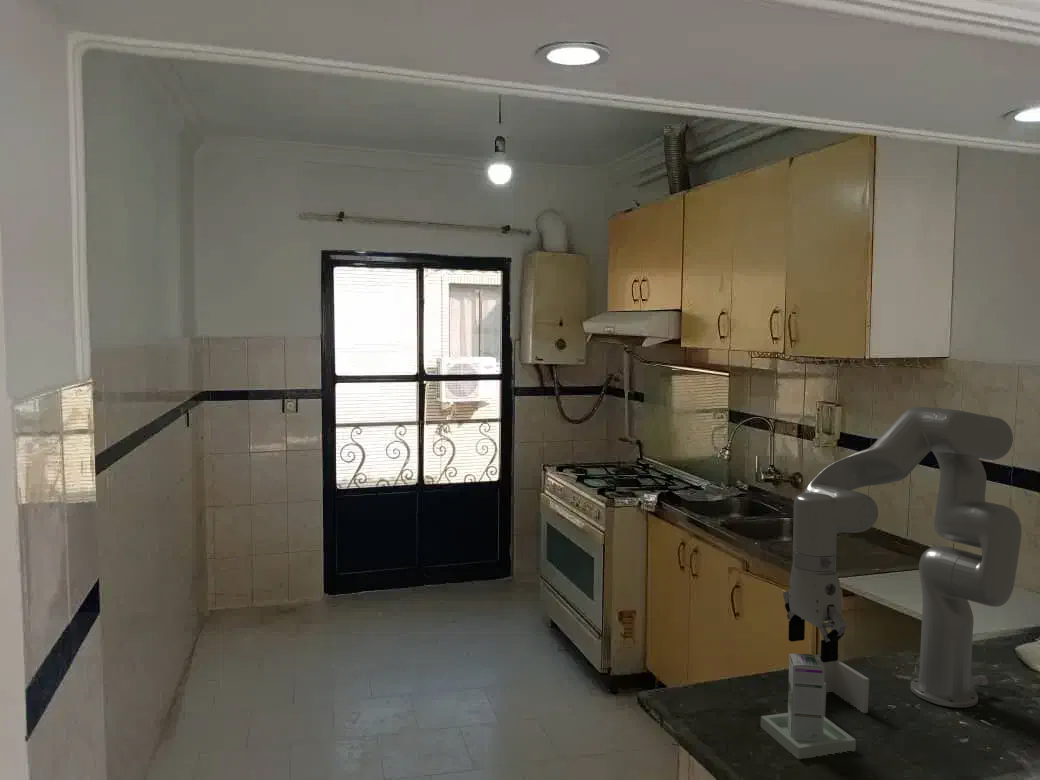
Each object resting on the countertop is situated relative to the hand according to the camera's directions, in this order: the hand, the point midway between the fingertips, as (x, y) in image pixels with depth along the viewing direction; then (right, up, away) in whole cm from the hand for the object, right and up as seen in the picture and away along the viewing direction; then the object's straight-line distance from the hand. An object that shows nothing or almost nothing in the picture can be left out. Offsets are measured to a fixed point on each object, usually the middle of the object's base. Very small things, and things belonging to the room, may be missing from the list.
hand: (812, 650), depth 144 cm
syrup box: (-1, -16, +1) cm, 16 cm away
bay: (+9, -16, +15) cm, 24 cm away
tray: (-1, -17, +1) cm, 17 cm away
